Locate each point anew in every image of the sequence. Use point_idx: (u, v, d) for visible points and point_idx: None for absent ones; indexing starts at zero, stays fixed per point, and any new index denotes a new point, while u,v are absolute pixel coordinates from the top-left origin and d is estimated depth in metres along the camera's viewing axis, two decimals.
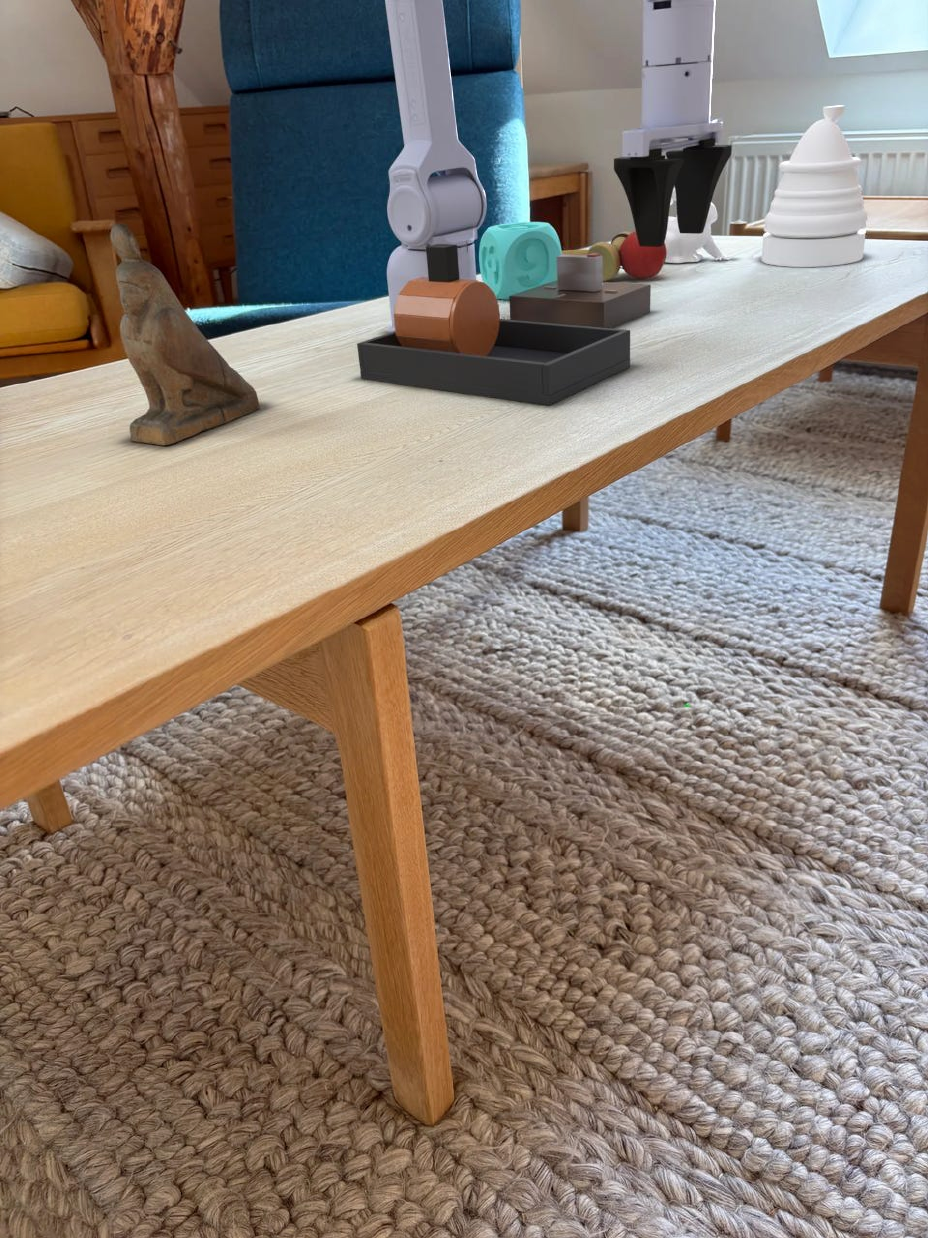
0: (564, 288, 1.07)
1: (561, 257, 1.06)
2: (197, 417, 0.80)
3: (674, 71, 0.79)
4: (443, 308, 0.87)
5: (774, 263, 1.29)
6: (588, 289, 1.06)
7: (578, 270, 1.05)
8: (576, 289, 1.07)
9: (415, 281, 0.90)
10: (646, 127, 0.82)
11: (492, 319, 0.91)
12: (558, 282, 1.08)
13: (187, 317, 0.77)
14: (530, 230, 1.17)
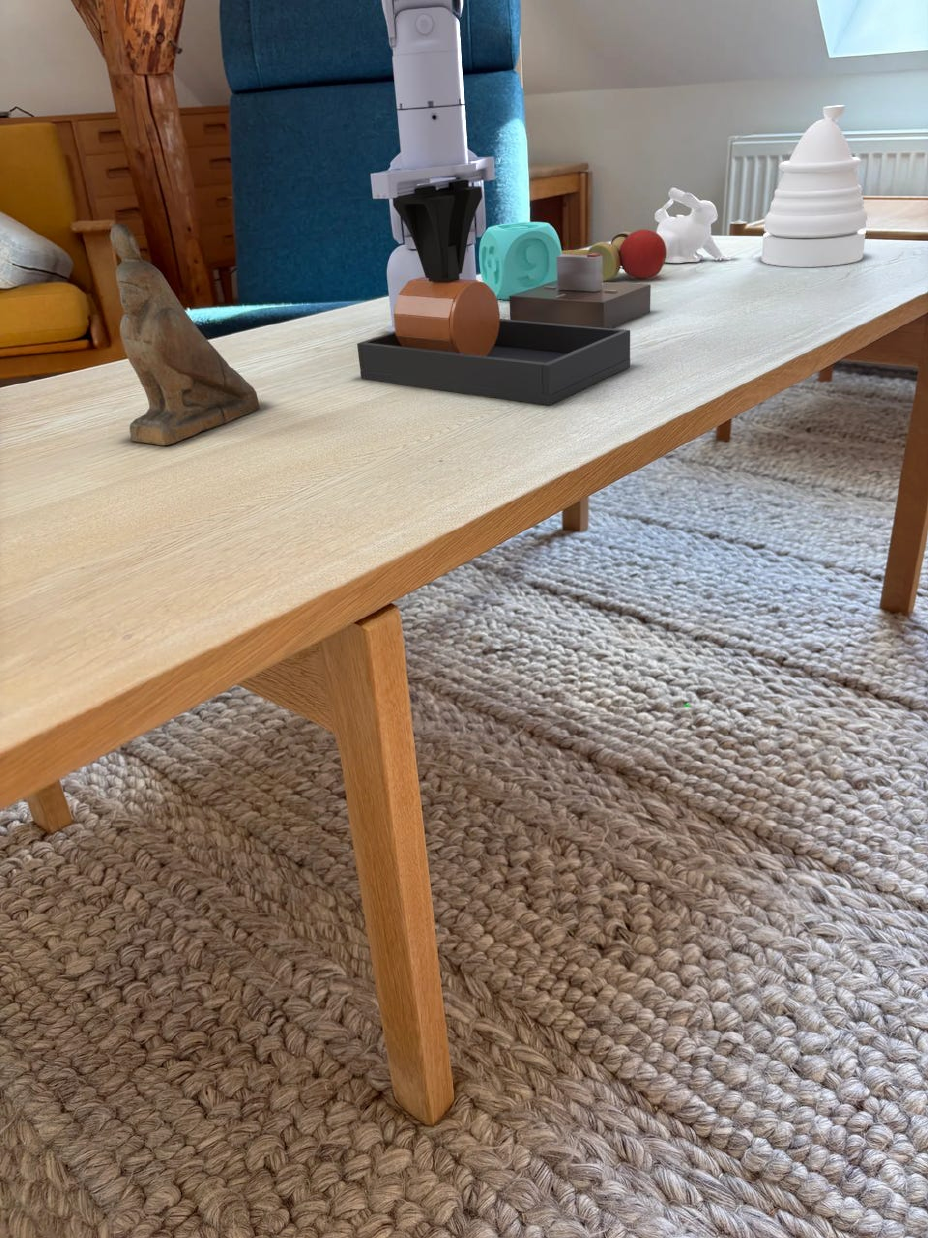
0: (564, 288, 1.07)
1: (561, 257, 1.06)
2: (197, 417, 0.80)
3: (421, 115, 0.80)
4: (443, 308, 0.87)
5: (774, 263, 1.29)
6: (588, 289, 1.06)
7: (578, 270, 1.05)
8: (576, 289, 1.07)
9: (415, 281, 0.90)
10: (404, 168, 0.84)
11: (492, 319, 0.91)
12: (558, 282, 1.08)
13: (187, 317, 0.77)
14: (530, 230, 1.17)
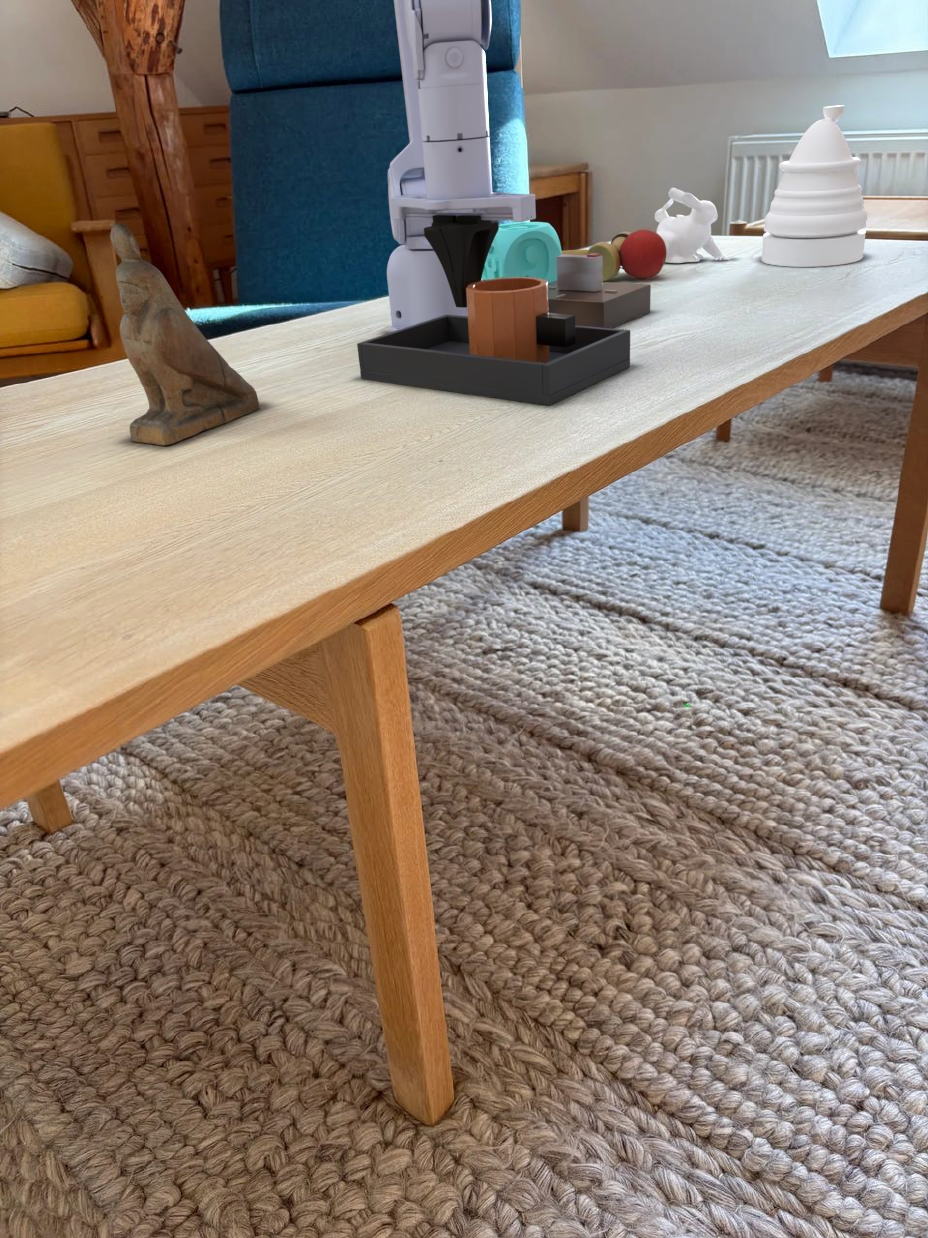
0: (564, 288, 1.07)
1: (561, 257, 1.06)
2: (197, 417, 0.80)
3: None
4: None
5: (774, 263, 1.29)
6: (588, 289, 1.06)
7: (578, 270, 1.05)
8: (576, 289, 1.07)
9: (533, 299, 0.83)
10: None
11: None
12: (558, 282, 1.08)
13: (187, 317, 0.77)
14: (530, 230, 1.17)
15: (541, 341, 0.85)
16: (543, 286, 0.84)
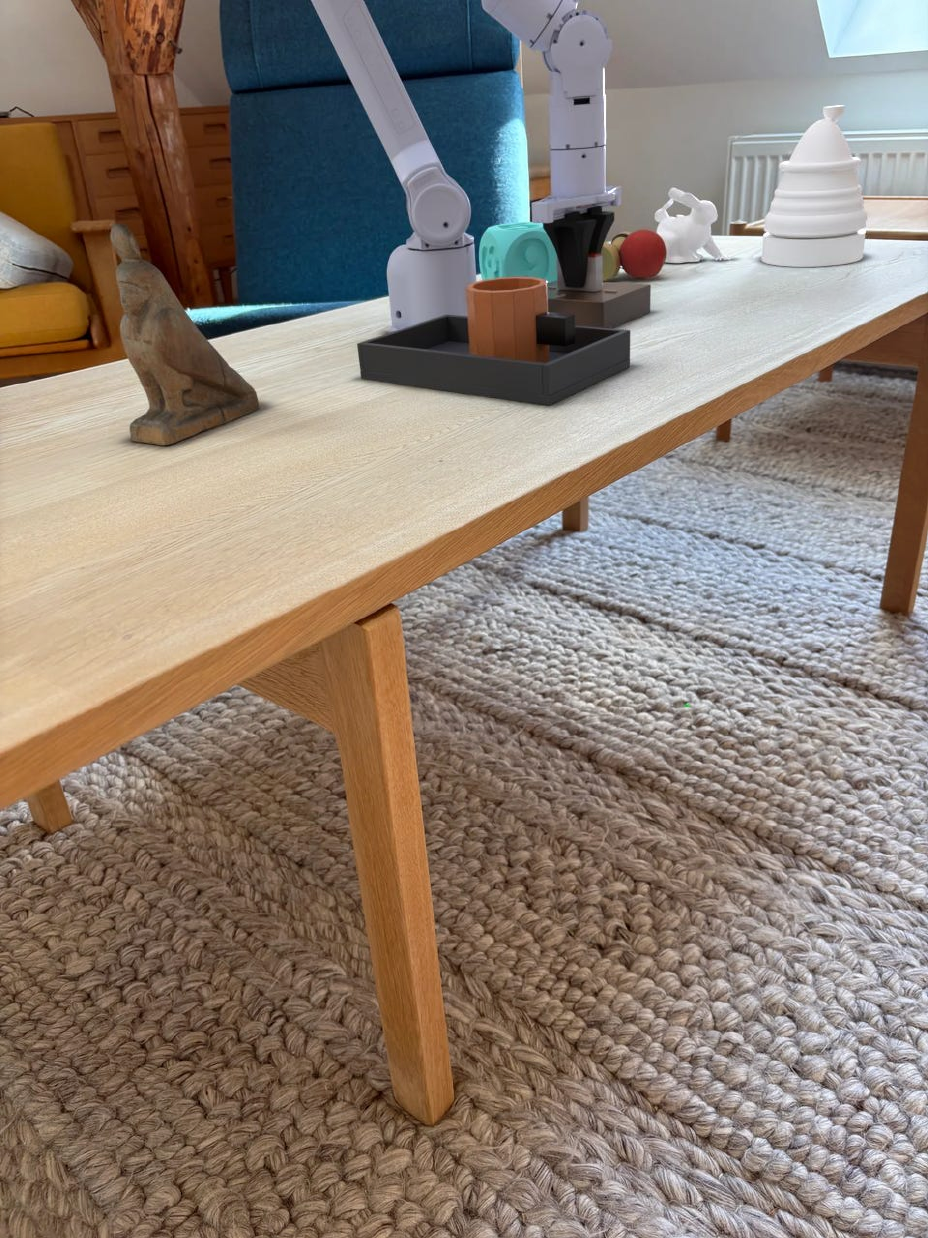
0: (564, 288, 1.07)
1: None
2: (197, 417, 0.80)
3: (573, 154, 0.98)
4: None
5: (774, 263, 1.29)
6: (588, 289, 1.06)
7: None
8: (576, 289, 1.07)
9: (533, 298, 0.83)
10: (554, 197, 1.01)
11: None
12: (558, 282, 1.08)
13: (187, 317, 0.77)
14: (530, 230, 1.17)
15: (541, 340, 0.85)
16: (543, 285, 0.84)
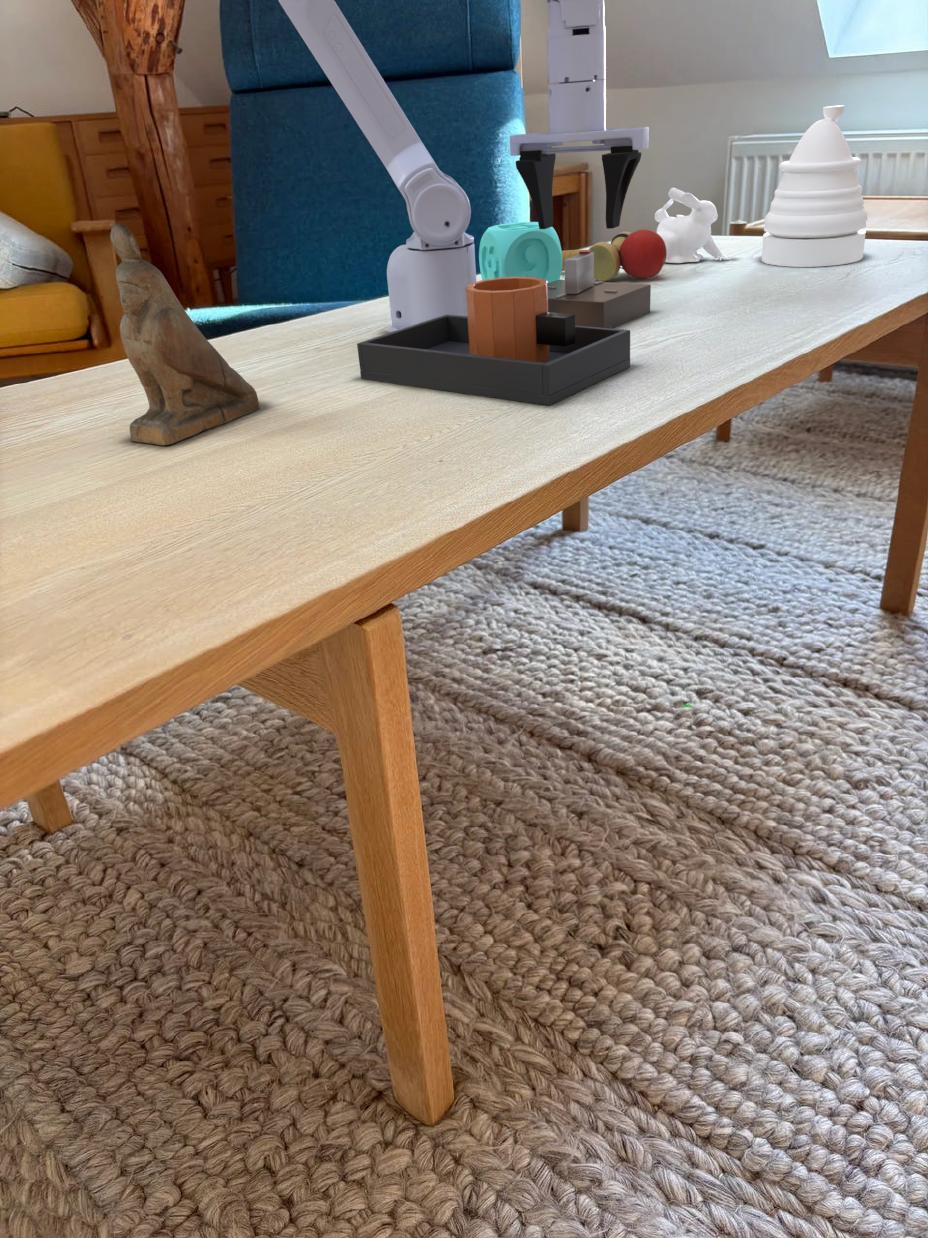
0: (580, 290, 1.06)
1: (578, 259, 1.04)
2: (197, 417, 0.80)
3: (605, 85, 0.98)
4: None
5: (774, 263, 1.29)
6: (591, 285, 1.08)
7: (586, 268, 1.06)
8: (585, 288, 1.07)
9: (533, 298, 0.83)
10: (597, 130, 0.98)
11: None
12: (577, 286, 1.05)
13: (187, 317, 0.77)
14: (530, 230, 1.17)
15: (541, 340, 0.85)
16: (543, 285, 0.84)
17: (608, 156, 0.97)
